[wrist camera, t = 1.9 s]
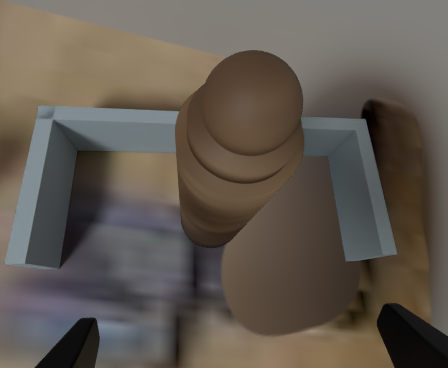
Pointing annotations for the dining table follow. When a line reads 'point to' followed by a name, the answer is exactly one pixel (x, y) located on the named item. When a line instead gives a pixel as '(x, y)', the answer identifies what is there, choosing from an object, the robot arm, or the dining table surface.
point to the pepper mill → (237, 144)
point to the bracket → (165, 143)
